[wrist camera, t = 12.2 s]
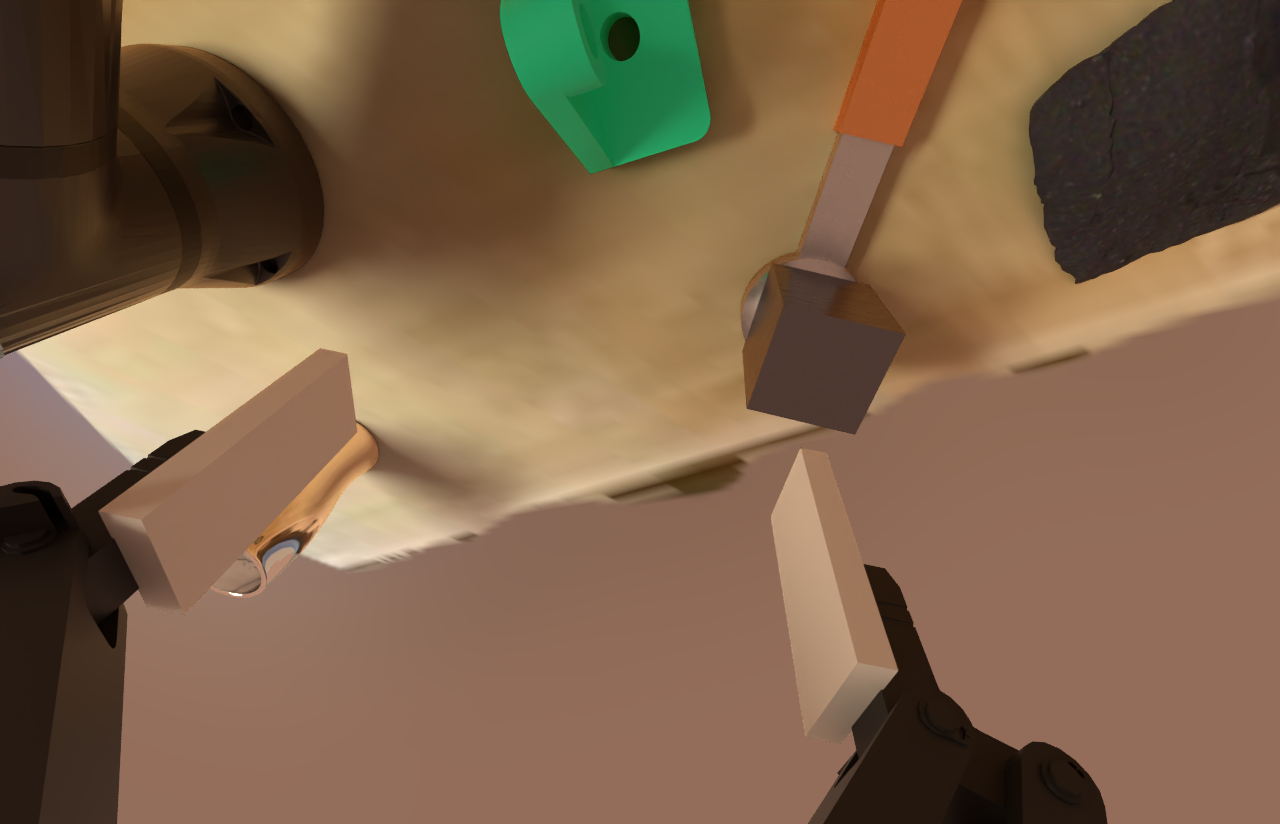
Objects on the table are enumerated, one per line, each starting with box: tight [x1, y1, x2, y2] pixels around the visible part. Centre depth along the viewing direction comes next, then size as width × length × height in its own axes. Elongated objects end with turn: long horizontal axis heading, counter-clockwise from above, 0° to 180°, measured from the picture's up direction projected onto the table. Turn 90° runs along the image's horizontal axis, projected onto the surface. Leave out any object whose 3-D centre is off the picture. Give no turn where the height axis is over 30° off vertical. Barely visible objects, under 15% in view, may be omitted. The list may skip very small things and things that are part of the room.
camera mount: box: [500, 0, 711, 174], centre depth 27 cm, size 12×8×10 cm, turn 16°
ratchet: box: [741, 0, 962, 341], centre depth 31 cm, size 24×8×7 cm, turn 169°
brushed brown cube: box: [743, 262, 905, 434], centre depth 33 cm, size 6×6×8 cm
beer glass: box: [210, 422, 379, 598], centre depth 43 cm, size 7×7×15 cm
